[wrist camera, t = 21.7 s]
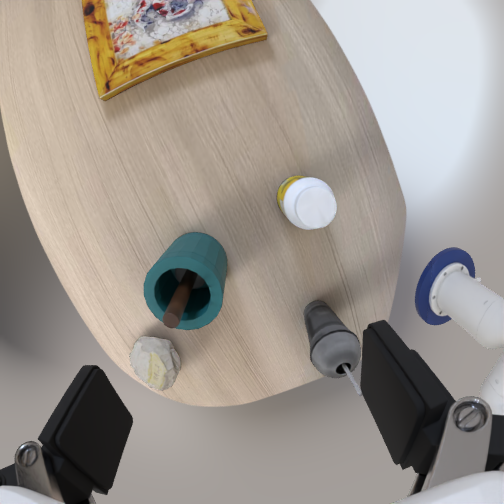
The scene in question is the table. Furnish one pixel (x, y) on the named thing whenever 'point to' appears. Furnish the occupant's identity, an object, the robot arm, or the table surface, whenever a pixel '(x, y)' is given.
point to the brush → (181, 296)
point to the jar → (195, 259)
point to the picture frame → (161, 36)
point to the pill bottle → (307, 202)
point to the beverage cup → (331, 343)
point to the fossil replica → (155, 362)
